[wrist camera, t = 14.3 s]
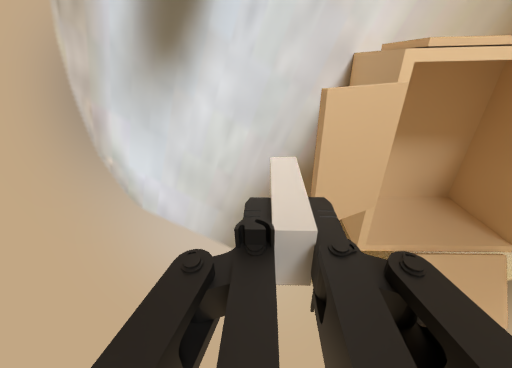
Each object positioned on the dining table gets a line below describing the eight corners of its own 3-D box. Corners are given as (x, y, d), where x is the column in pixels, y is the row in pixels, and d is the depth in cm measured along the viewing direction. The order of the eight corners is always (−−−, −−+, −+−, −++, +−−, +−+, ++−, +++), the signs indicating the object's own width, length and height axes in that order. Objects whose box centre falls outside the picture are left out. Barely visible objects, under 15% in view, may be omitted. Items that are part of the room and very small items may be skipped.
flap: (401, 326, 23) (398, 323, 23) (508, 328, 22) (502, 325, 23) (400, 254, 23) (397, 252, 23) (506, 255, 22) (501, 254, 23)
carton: (355, 46, 24) (408, 37, 15) (523, 41, 23) (682, 30, 14) (331, 199, 32) (356, 250, 24) (452, 199, 32) (524, 252, 23)
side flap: (327, 89, 13) (321, 88, 13) (311, 230, 18) (307, 226, 18) (409, 82, 15) (402, 81, 16) (375, 206, 20) (370, 203, 21)
